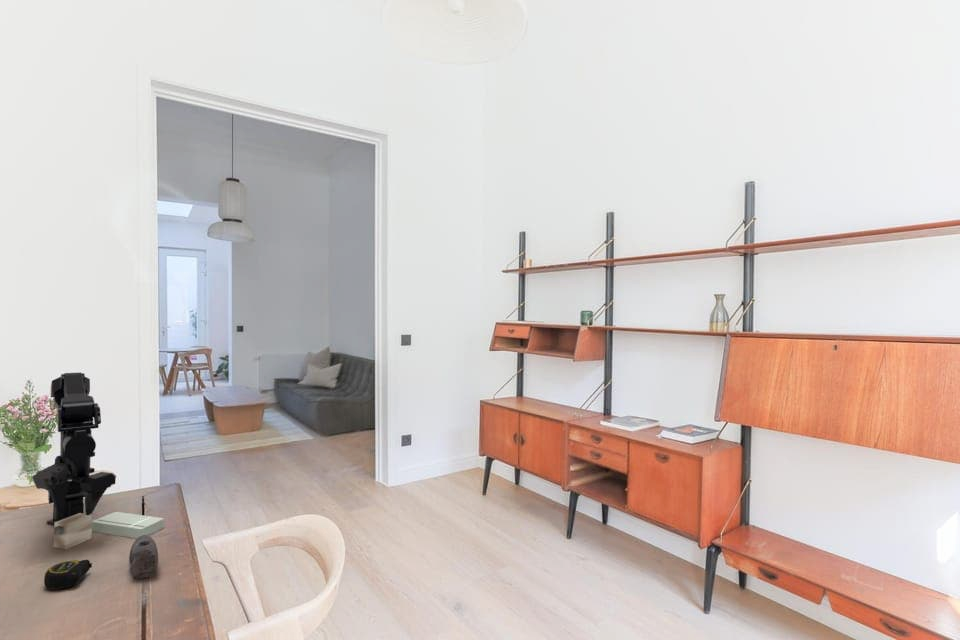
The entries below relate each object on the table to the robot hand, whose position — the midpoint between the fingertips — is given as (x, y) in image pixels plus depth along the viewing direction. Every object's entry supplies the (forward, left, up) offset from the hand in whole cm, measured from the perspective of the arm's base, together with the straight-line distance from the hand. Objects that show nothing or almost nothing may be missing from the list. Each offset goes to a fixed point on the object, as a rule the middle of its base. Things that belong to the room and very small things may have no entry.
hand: (73, 512), depth 121 cm
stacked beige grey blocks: (0, 0, -8) cm, 8 cm away
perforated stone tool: (+27, -6, -8) cm, 29 cm away
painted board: (+6, +9, -7) cm, 13 cm away
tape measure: (+18, -14, -8) cm, 24 cm away
